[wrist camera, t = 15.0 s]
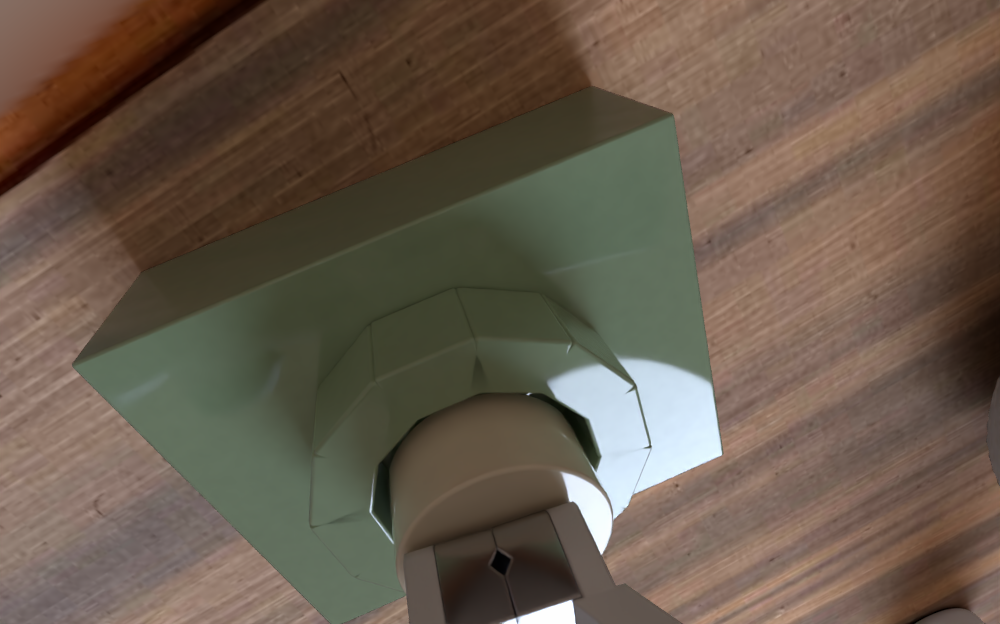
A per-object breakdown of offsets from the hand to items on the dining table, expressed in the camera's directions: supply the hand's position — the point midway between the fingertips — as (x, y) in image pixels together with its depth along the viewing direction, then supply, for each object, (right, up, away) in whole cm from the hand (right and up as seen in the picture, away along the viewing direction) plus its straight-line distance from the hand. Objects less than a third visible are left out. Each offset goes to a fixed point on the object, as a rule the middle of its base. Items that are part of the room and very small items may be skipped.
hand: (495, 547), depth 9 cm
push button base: (-2, +3, +7) cm, 8 cm away
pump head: (0, +1, +2) cm, 2 cm away
